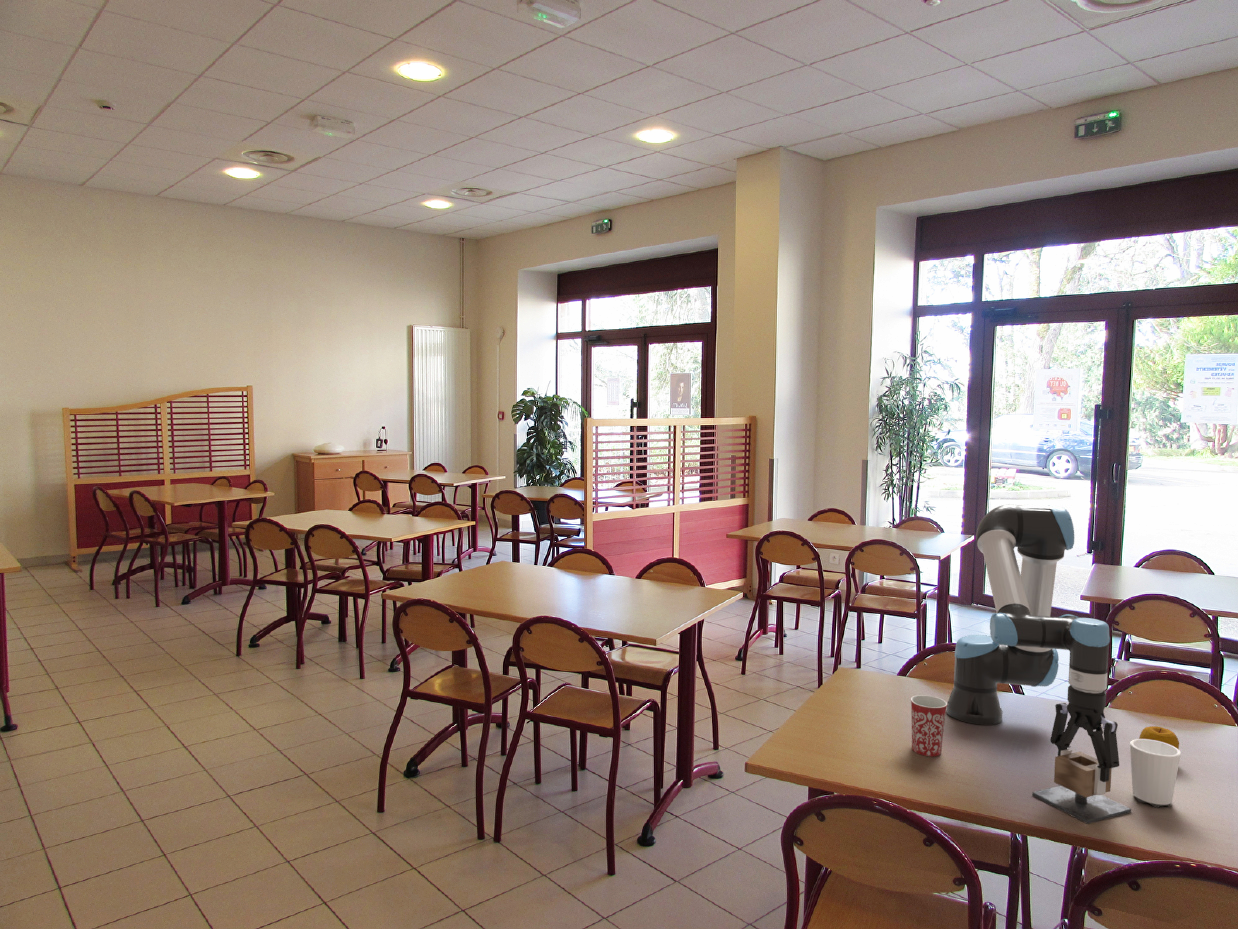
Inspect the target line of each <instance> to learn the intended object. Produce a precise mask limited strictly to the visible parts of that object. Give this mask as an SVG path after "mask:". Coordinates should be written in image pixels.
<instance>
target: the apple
mask: <svg viewBox="0 0 1238 929" xmlns="http://www.w3.org/2000/svg"><path fill="white" fill-rule="evenodd" d="M1138 739H1150V740H1156V741H1160V742H1164V743H1167V744H1169V745H1172V746H1174V747H1176V748H1177V749H1178V750H1180V748H1179V747H1180V740H1179V738H1178V736H1177V735H1176V734H1175V732H1173V731H1172V730H1170V729H1168V728H1165V727H1161V726H1156V725H1153V726H1146V727H1144V728H1143V729H1142V730H1141V731H1140V734H1139V737H1138Z"/></svg>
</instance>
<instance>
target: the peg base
mask: <svg viewBox="0 0 1238 929" xmlns="http://www.w3.org/2000/svg"><path fill="white" fill-rule="evenodd" d="M1032 797H1035V798H1037V799H1038V800H1041V801H1042V802H1044V803H1046V804H1048V805H1050V806H1052V807H1054V808H1055V809H1058V810H1060V811H1062V812H1064V813H1066V814H1067V813H1068V815H1069V814H1070V816H1071V815H1072V817H1073V818H1076V819H1077V820H1080V821H1081V822H1083V823H1085V824H1088V825H1089V824H1092V823H1096V822H1100V821H1104V820H1107V819H1111V818H1114V817H1115V818H1116V817H1118V816H1119V817H1120V816H1123V815H1126V814H1129V813H1132V808H1130V807H1128V806H1126V805H1124V804H1122V803H1120V802H1117V801H1115V800H1114V799H1111V798H1109V797H1107V796H1105V795H1104V794H1102V795H1098V796H1097V795H1093V796H1089V797H1084V796H1082V795H1080V794H1078V793H1075V792H1073V791H1071V790H1069V789H1067V788H1065V787H1063V786H1061V785H1057V786H1053V787H1050V788H1049V787H1048V788H1045V789H1041V790H1035V791H1032Z"/></svg>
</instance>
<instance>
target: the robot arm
mask: <svg viewBox="0 0 1238 929" xmlns="http://www.w3.org/2000/svg"><path fill="white" fill-rule="evenodd" d="M975 534H976V535H975V539H976V545H977V548H978V550H979V551H980V552H981V553H982V554H983V558H984V563H985V568H986V573H987V576H988V580H989V583H990V584H989V585H990V589H991V593H992V598H993V602H994V607H995V612H996V613H993V614H992V615H991V617H990V620H989V630H990V631H989V635H988V634H970V635H965V636H962V637H960V638H958V639H957V641H956V644H955V650H954V653H953V654H954V671H953V673H954V675H953V688H952V690H951V693H950V695H949V699H948V701H946V702H947V707H946V714H947V715H948V716H949V717H951V718H953V719H956V720H958V721H961V722H965V723H969V724H973V725H983V726H985V725H989V726H991V725H996V724H999V723H1001V722H1002V721H1003V710H1002V707H1001V705H1000V701H999V696H998V684H1005V685H1016V686H1017V685H1019V686H1029V687H1034V688H1037V687H1049V686H1050V685H1052V684H1053V683H1054V682H1055V680H1056V678H1057V676H1058V670H1059V666H1060V665H1059V652H1058V650H1065V651H1069V663H1068V666H1069V668H1068V684H1069V685H1068V686H1067V699H1066V700H1067V702H1068V703H1066V702H1061V703H1056V704H1055V717H1054V723H1053V727H1052V731H1051V735H1050V743H1051V744H1053V745H1055V746H1056V748H1057V756H1061V755H1066V754H1071V753H1073V750H1072V749H1070V748H1071V747H1072V746H1071V743H1072V741H1073V740H1074V739H1075V736H1076V734H1077V732H1078V731H1079V729H1080V728H1082V729H1083V730H1085V731H1086V732H1087V735H1088V736H1089V737H1090V740H1091V744H1092V746H1093V750H1094V753H1095V758H1096V759H1097V760H1098V763H1099V765H1097V766H1095V785H1094V794H1095V795H1097V796H1098V795H1105V794H1106V793H1105V791H1106V782H1107V781H1109V774H1110V768H1112V769H1114V768H1118V767H1119V766H1120V758H1119V750H1118V749H1119V748H1118V741H1117V740H1118V738H1117V729H1118V723H1117V721H1111V720H1109V719H1107V718H1106V716H1105V713H1104V711H1105V708H1106V704H1107V703H1106V702H1107V693H1106V691H1105V690H1107V687H1108V663H1109V652H1110V649H1109V648H1110V642H1111V637H1110V627H1109V624H1108V623H1107V622H1105V621H1104V620H1100V619H1097V618H1089V617H1079V616H1076V615H1074V614H1063V615H1060V616H1051V614H1052V606H1053V605H1052V604H1053V599H1054V597H1053V596H1054V590H1055V581H1056V572H1057V565H1058V564H1057V562H1059V561H1061V560H1062V559H1064V557H1065V551H1069V550H1072V549H1073V548H1074V545H1075V527H1074V523H1073V519H1072V517H1071V515H1070V512H1069V511H1068V510H1067V509H1066V508H1065V507H1063V506H1062V507H1061V506H1051V505H1028V504H1027V505H1026V504H1024V505H1020V504H1015V505H1014V504H1003V505H999V506H997V507H994V508H993V509H991V510H990V511H989V512H988V513H986V514H985V515H984V516H983V517H982V519H981V520H980V521H979V523H978V526H977V529H976V532H975ZM1016 548H1017V553H1018V554H1019V555H1020V556H1021V557H1022V561H1021V566H1020V568H1021V569H1020V568H1019V565H1018V560H1017V557H1016V553H1015V549H1016ZM1068 716H1069V717H1070V718H1069V720H1068ZM1067 720H1068V721H1067ZM1066 725H1067V726H1066Z"/></svg>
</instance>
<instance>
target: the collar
mask: <svg viewBox="0 0 1238 929" xmlns="http://www.w3.org/2000/svg"><path fill="white" fill-rule="evenodd" d="M1097 765H1099V763H1098V760H1097V757H1093V756H1090V755H1088V754H1085V753H1084V752H1082V751H1076V752H1072V753H1071V754H1066V755H1061V756H1058V755H1057V756H1055V757H1054V770H1053V771H1054V774H1053V783H1055V784H1057V785H1058V786H1063V787H1065V788H1067V789H1069V790H1071V791H1073V792H1075V793H1078V794H1080V795H1082V796H1084V797H1089V796H1093V795H1095V794H1094V785H1095V766H1097ZM1112 769H1113V768H1110V774H1109V781H1107V782H1106V791H1105V794H1106V793H1109V792H1111V786H1112V785H1111V784H1112Z"/></svg>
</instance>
